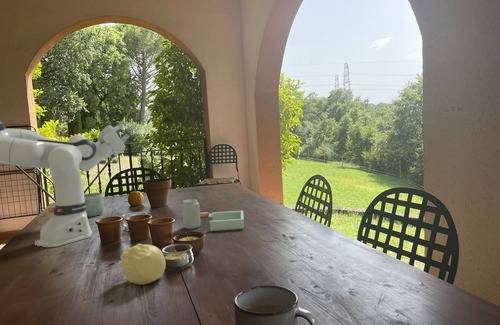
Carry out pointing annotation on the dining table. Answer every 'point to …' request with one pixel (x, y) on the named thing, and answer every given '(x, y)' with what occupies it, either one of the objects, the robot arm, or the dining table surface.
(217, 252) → the dining table surface
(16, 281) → the dining table surface
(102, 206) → the planter
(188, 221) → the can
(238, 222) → the frame
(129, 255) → the pomelo
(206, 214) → the scraper
